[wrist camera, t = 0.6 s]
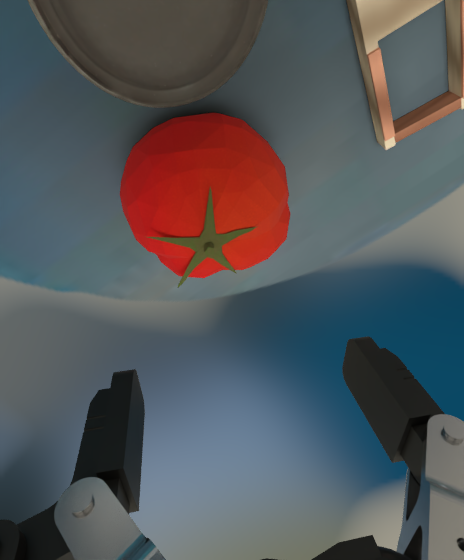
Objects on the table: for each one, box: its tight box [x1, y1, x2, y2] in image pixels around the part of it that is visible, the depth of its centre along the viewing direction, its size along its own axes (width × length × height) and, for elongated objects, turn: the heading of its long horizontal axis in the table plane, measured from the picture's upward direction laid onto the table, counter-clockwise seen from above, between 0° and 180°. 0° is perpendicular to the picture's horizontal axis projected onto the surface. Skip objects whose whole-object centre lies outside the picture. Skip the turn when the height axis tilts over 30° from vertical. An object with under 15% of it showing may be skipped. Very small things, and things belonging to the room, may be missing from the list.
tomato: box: [120, 112, 290, 287], centre depth 30 cm, size 16×14×14 cm
